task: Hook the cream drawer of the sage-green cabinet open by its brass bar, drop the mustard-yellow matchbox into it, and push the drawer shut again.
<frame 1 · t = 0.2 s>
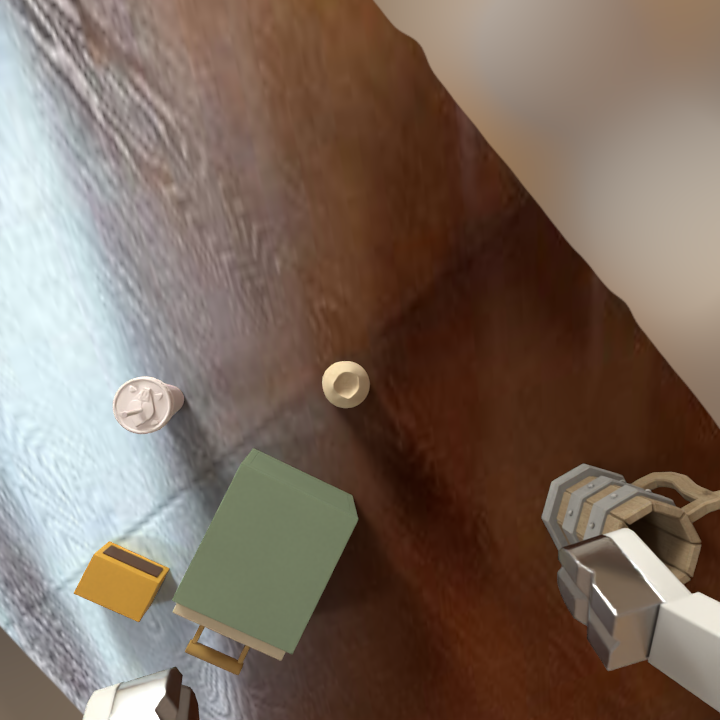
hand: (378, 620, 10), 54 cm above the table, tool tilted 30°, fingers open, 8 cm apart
tankard: (607, 497, 67), on the table
cabinet: (274, 529, 63), on the table
matchbox: (130, 573, 61), on the table
smoothie: (170, 399, 62), on the table
candle: (342, 381, 64), on the table
drawer: (252, 580, 58), point 5 cm above the table, slide at 0.5 cm
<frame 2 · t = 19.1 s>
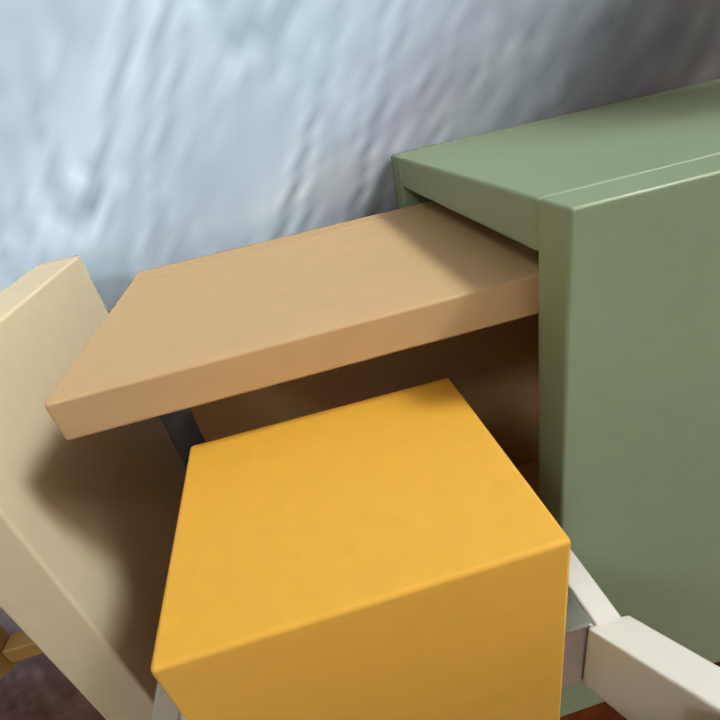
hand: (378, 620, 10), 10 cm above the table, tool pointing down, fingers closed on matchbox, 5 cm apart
cabinet: (613, 301, 19), on the table
matchbox: (360, 553, 11), point 8 cm above the table, touching gripper
drawer: (279, 479, 14), point 5 cm above the table, slide at 9.8 cm
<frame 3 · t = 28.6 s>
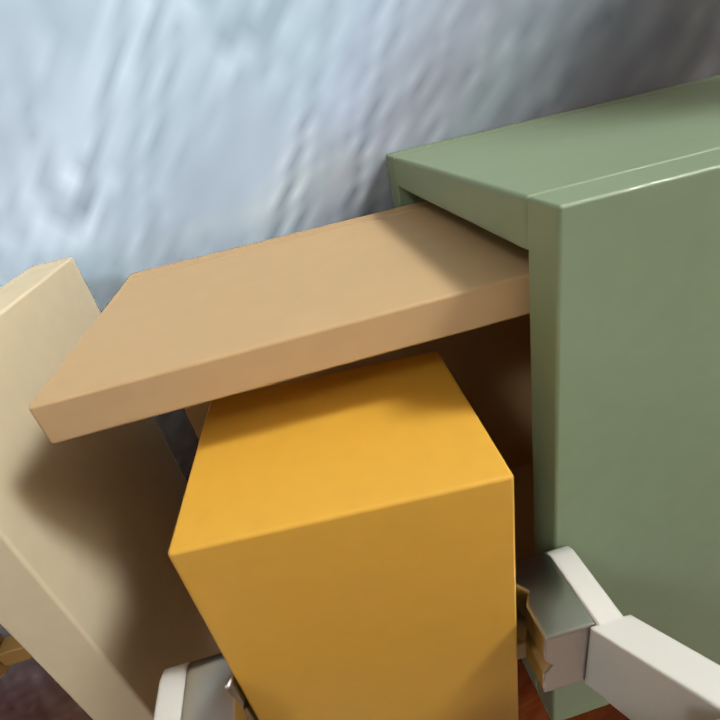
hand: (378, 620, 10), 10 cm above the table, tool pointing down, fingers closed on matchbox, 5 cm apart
cabinet: (612, 300, 19), on the table
matchbox: (357, 509, 13), point 7 cm above the table, touching gripper
drawer: (273, 481, 14), point 5 cm above the table, slide at 9.8 cm
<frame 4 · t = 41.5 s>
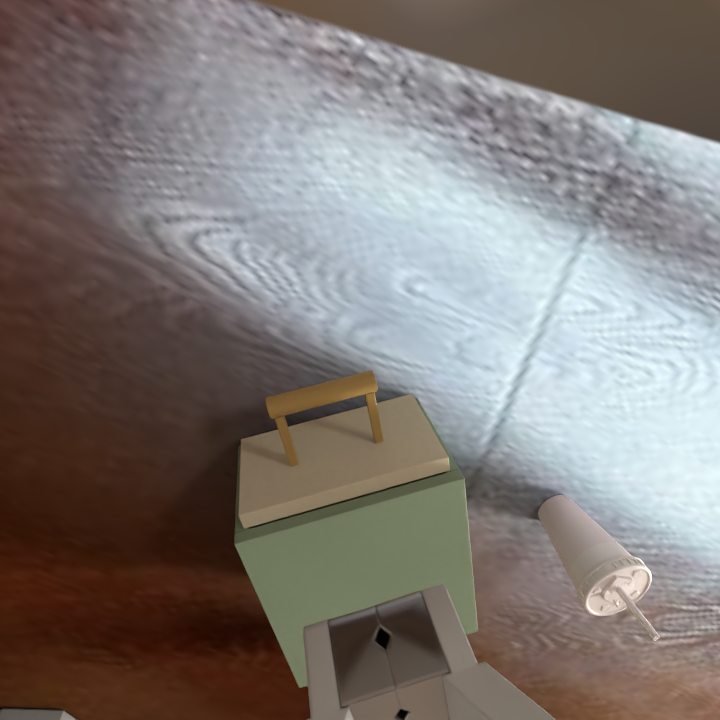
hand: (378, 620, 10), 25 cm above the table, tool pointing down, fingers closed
cabinet: (348, 496, 42), on the table
smoothie: (553, 507, 48), on the table
drawer: (349, 498, 35), point 5 cm above the table, slide at 0.0 cm, touching matchbox
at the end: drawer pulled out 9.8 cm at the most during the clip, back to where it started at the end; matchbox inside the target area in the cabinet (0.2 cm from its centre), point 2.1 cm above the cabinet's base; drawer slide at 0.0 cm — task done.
